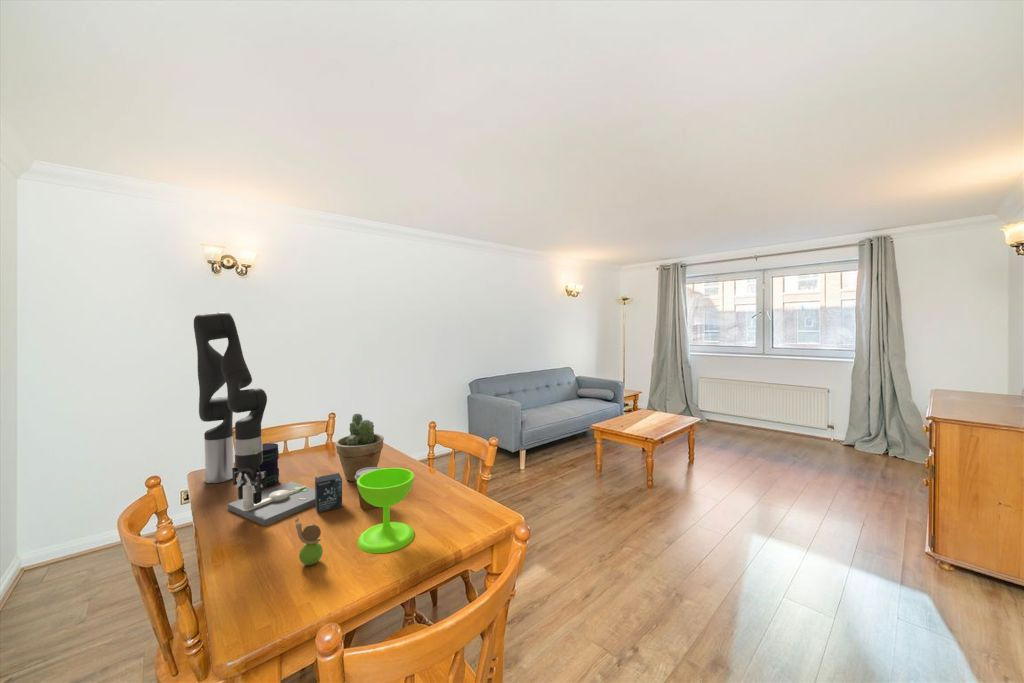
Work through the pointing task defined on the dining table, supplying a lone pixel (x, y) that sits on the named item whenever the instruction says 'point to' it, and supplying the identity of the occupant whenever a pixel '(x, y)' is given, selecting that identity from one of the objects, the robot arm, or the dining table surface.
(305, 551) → the snail figurine
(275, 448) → the storage jar
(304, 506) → the dial board
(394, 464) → the dining table surface
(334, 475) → the box
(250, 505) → the tuning crank
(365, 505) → the disposable coffee cup
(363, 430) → the potted plant
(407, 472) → the wineglass
